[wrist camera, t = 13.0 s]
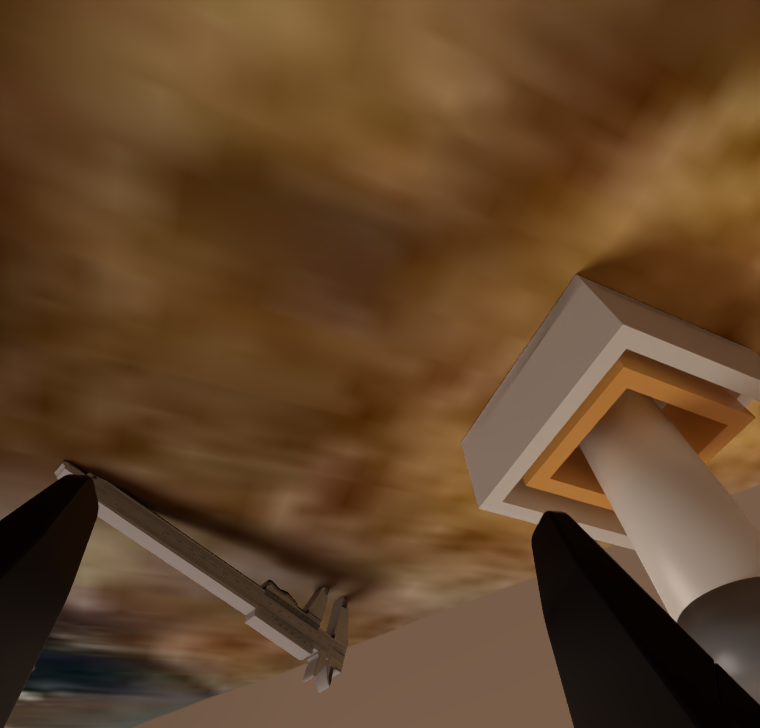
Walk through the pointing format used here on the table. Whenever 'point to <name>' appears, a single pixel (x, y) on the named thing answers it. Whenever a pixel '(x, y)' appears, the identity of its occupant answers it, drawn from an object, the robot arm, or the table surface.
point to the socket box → (600, 402)
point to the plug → (683, 531)
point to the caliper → (233, 584)
